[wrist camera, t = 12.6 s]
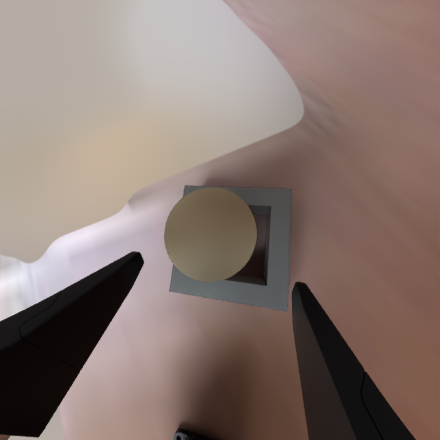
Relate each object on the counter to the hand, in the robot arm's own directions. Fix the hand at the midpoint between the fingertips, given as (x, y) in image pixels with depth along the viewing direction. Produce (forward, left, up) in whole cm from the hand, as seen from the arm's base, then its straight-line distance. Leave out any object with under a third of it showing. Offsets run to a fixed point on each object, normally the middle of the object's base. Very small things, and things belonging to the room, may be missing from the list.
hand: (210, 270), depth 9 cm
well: (+2, 0, -10) cm, 11 cm away
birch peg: (+2, 0, -10) cm, 11 cm away
